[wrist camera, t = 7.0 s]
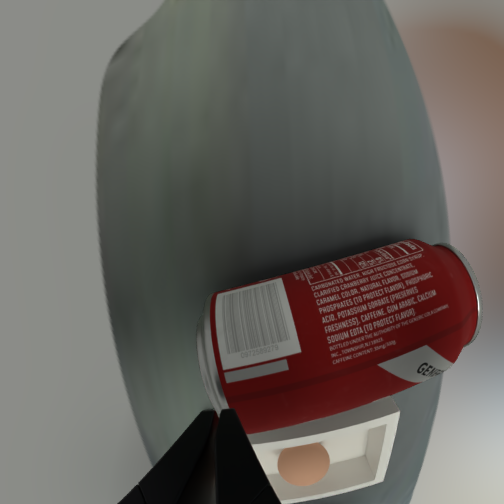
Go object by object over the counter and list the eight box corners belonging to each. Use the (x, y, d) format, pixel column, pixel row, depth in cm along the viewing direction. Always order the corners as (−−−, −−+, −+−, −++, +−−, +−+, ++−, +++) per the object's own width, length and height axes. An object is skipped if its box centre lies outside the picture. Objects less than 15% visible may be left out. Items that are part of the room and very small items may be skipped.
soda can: (178, 378, 8) (506, 273, 8) (195, 269, 14) (419, 210, 14) (240, 459, 11) (469, 381, 11) (234, 360, 17) (415, 307, 17)
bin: (371, 452, 19) (383, 481, 16) (232, 477, 20) (231, 508, 16) (380, 378, 17) (400, 411, 14) (203, 410, 18) (197, 448, 14)
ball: (325, 453, 18) (333, 488, 15) (278, 461, 18) (282, 497, 15) (324, 425, 17) (334, 463, 14) (272, 435, 17) (275, 474, 14)
